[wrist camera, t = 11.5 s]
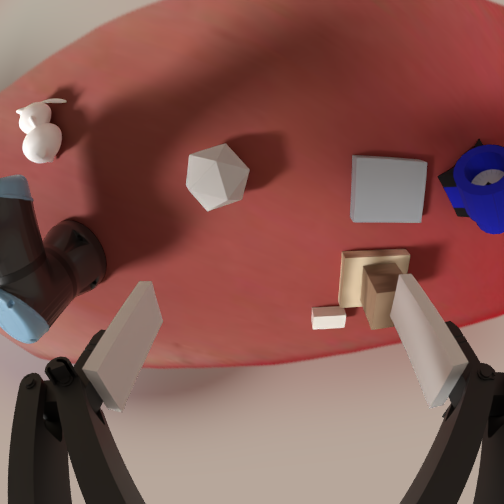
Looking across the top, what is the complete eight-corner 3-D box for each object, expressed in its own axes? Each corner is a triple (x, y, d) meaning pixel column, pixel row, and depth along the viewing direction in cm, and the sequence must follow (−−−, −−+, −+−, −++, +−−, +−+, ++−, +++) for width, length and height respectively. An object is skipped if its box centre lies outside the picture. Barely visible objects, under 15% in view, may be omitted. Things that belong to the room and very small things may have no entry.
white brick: (311, 319, 55) (312, 329, 52) (312, 306, 54) (313, 316, 51) (341, 317, 54) (344, 327, 52) (343, 305, 53) (346, 315, 50)
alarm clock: (477, 135, 36) (534, 150, 23) (500, 189, 40) (550, 217, 26) (435, 173, 41) (488, 199, 27) (461, 225, 44) (507, 263, 31)
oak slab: (337, 298, 53) (340, 307, 50) (341, 250, 49) (345, 258, 46) (395, 294, 52) (400, 303, 49) (404, 247, 47) (410, 255, 45)
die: (224, 130, 41) (170, 147, 35) (270, 157, 39) (217, 180, 32) (215, 175, 48) (167, 197, 41) (255, 204, 45) (208, 232, 39)
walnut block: (360, 300, 49) (371, 329, 42) (362, 266, 46) (376, 293, 39) (390, 296, 49) (405, 324, 41) (395, 262, 45) (413, 288, 38)
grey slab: (349, 215, 46) (353, 222, 43) (351, 154, 41) (356, 157, 39) (413, 216, 45) (420, 222, 42) (418, 159, 40) (427, 162, 38)
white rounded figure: (6, 109, 30) (23, 170, 35) (58, 79, 33) (77, 138, 38) (20, 120, 38) (36, 173, 42) (66, 94, 41) (83, 146, 46)
